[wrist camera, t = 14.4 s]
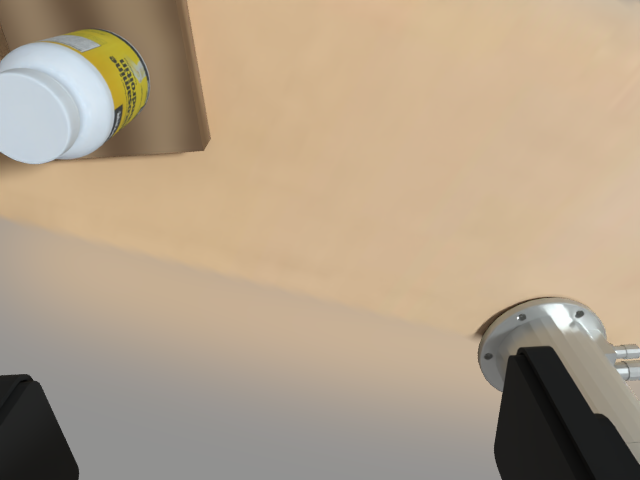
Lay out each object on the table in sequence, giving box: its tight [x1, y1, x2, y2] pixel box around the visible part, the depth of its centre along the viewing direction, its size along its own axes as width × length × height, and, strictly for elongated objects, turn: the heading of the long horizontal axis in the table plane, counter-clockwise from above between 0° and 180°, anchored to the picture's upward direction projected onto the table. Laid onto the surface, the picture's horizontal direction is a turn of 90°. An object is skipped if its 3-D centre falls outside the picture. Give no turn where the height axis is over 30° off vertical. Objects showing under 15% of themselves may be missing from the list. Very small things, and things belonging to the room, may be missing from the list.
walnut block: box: [0, 0, 211, 161], centre depth 36 cm, size 12×12×3 cm
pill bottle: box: [0, 29, 150, 164], centre depth 30 cm, size 6×6×12 cm
